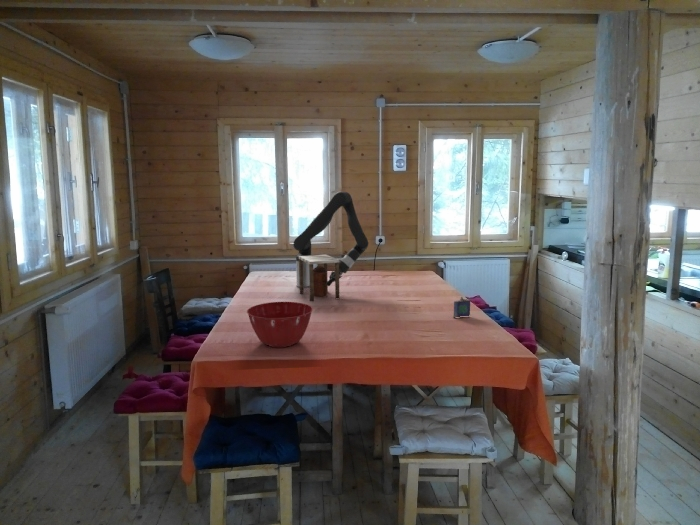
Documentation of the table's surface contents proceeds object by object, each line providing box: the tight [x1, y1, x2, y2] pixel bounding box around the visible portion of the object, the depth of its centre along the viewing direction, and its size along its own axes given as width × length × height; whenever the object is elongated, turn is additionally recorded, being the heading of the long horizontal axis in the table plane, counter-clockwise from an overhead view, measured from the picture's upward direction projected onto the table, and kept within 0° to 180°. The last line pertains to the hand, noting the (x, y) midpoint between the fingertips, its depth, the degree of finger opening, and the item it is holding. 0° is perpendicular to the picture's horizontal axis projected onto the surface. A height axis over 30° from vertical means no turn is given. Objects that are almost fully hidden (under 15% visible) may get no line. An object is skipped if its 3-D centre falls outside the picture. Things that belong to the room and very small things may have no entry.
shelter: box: [299, 254, 340, 302], centre depth 334 cm, size 24×18×24 cm
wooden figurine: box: [313, 266, 328, 297], centre depth 336 cm, size 12×6×18 cm, turn 62°
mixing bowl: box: [246, 301, 313, 348], centre depth 241 cm, size 28×28×15 cm
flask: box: [453, 296, 471, 318], centre depth 282 cm, size 9×3×11 cm, turn 109°
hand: (327, 285), depth 337 cm, fingers closed
